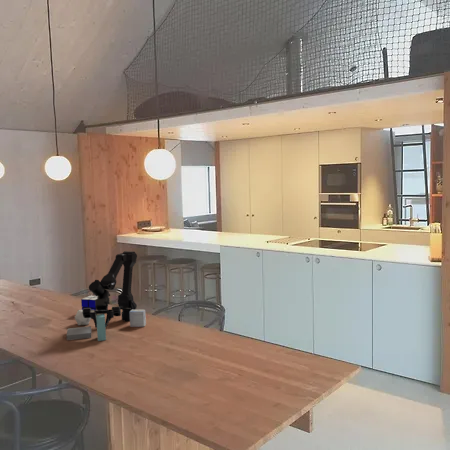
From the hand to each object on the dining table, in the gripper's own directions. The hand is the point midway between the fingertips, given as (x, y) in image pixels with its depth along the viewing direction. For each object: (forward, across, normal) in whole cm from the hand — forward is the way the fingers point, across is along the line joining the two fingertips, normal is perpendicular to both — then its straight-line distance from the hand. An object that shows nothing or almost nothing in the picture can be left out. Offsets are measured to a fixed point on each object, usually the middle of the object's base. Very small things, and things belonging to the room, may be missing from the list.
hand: (100, 327), depth 247 cm
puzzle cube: (-31, -12, +41) cm, 53 cm away
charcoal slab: (-2, -13, +12) cm, 17 cm away
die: (-16, -14, +26) cm, 33 cm away
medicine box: (-10, +17, +19) cm, 27 cm away
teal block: (+4, 0, +6) cm, 7 cm away
